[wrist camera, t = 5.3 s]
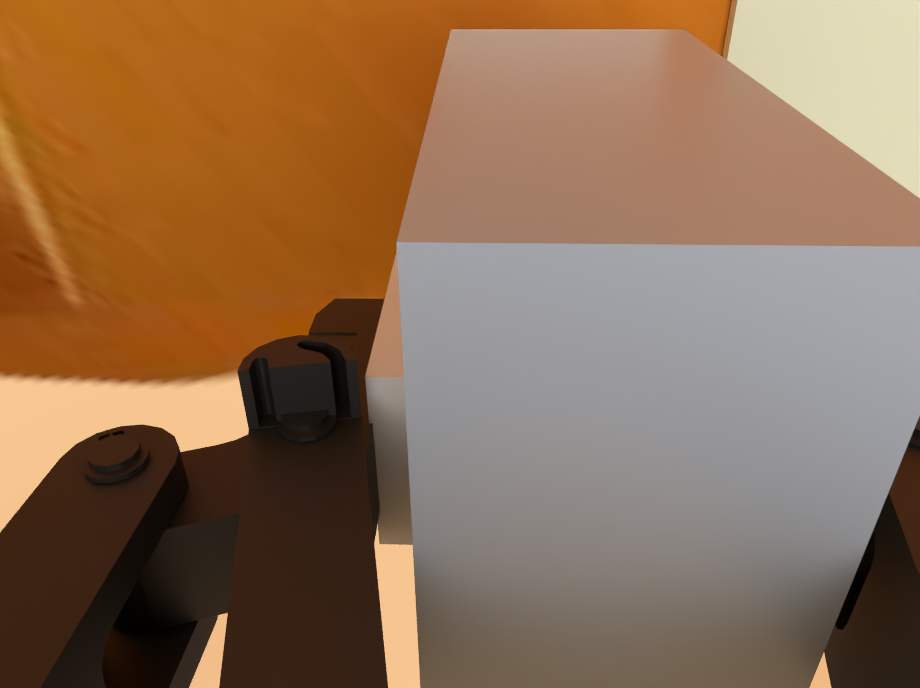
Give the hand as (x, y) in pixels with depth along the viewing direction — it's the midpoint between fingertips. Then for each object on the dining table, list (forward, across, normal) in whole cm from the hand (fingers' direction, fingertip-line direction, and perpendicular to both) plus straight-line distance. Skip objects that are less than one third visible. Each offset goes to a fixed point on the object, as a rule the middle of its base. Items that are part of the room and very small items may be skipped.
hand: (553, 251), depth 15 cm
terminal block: (0, 0, 0) cm, 0 cm away
